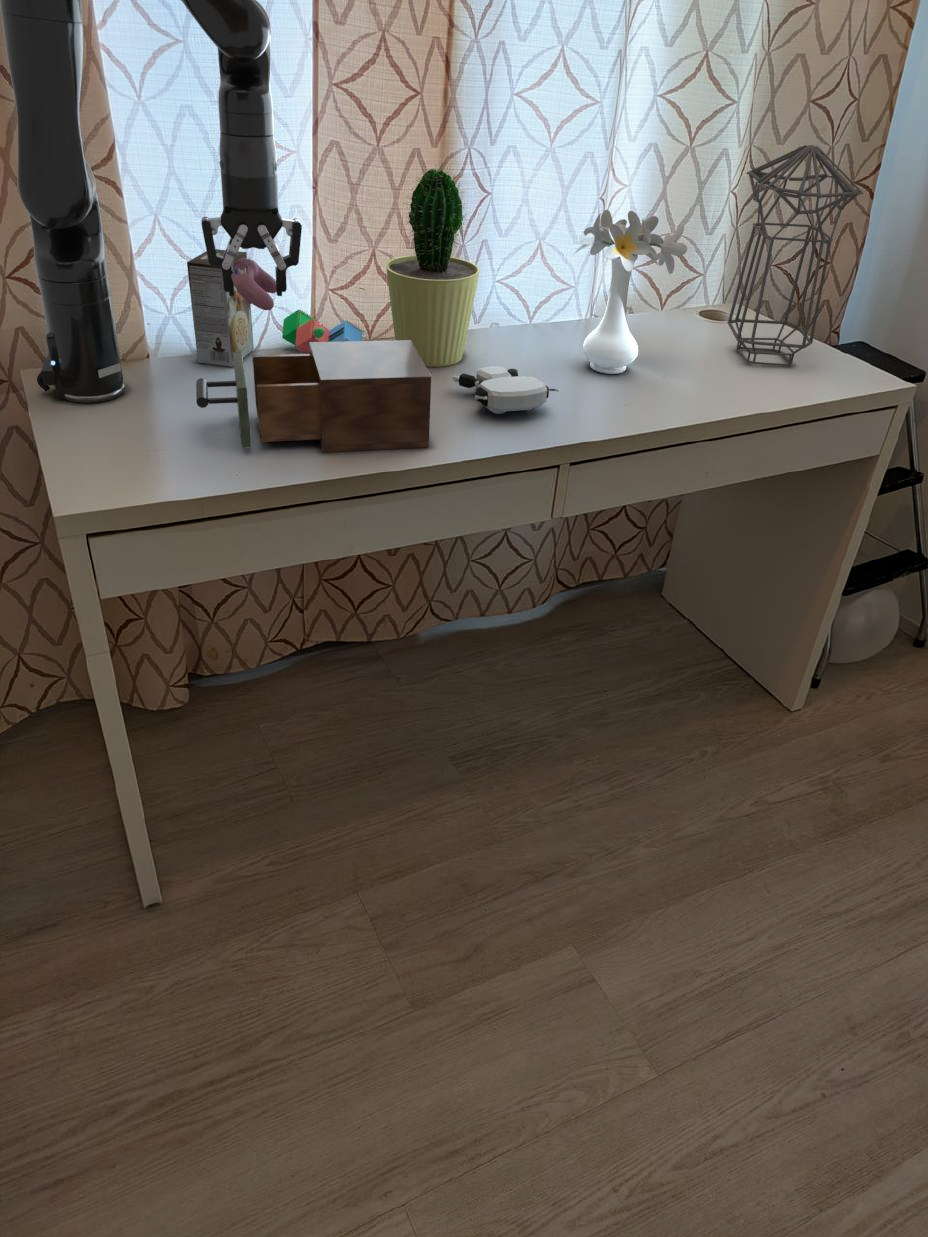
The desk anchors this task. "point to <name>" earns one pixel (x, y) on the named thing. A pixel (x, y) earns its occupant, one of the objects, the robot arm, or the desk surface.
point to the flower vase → (623, 283)
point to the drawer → (274, 397)
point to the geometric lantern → (848, 192)
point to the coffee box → (218, 313)
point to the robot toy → (505, 389)
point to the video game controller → (253, 283)
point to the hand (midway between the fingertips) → (255, 294)
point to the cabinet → (372, 395)
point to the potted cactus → (433, 275)
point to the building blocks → (316, 331)
